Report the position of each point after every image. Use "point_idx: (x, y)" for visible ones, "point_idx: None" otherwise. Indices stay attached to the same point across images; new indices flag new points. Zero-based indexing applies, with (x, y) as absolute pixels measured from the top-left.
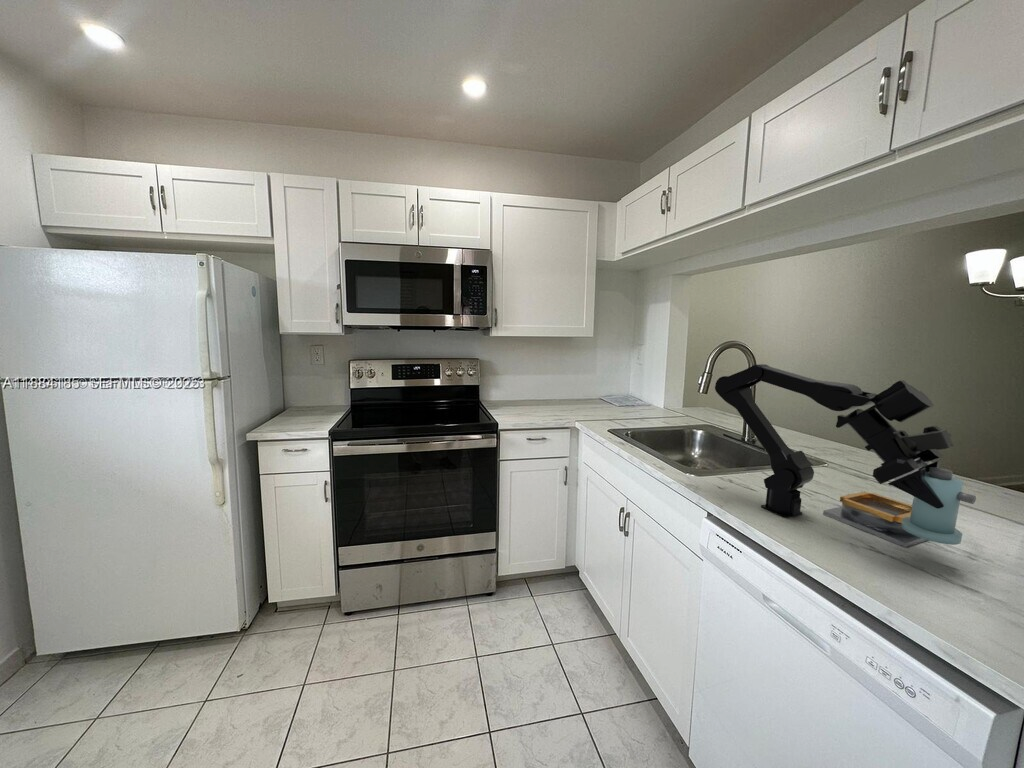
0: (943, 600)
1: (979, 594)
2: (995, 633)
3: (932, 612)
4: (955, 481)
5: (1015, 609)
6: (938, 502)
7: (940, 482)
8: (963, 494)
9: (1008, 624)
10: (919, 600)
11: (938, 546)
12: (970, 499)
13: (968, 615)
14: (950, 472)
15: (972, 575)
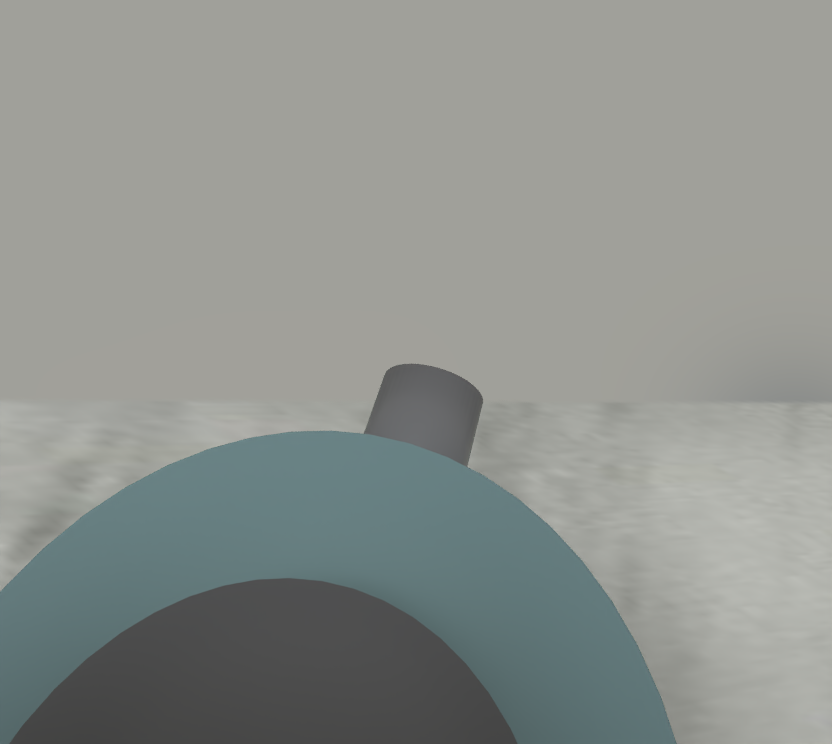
0: (675, 566)
1: (492, 481)
2: (739, 438)
3: (812, 582)
4: (398, 526)
5: (506, 402)
6: None
7: (664, 737)
8: (451, 457)
9: (639, 415)
10: (770, 629)
11: None
12: (480, 408)
13: (703, 497)
14: (388, 619)
15: None
